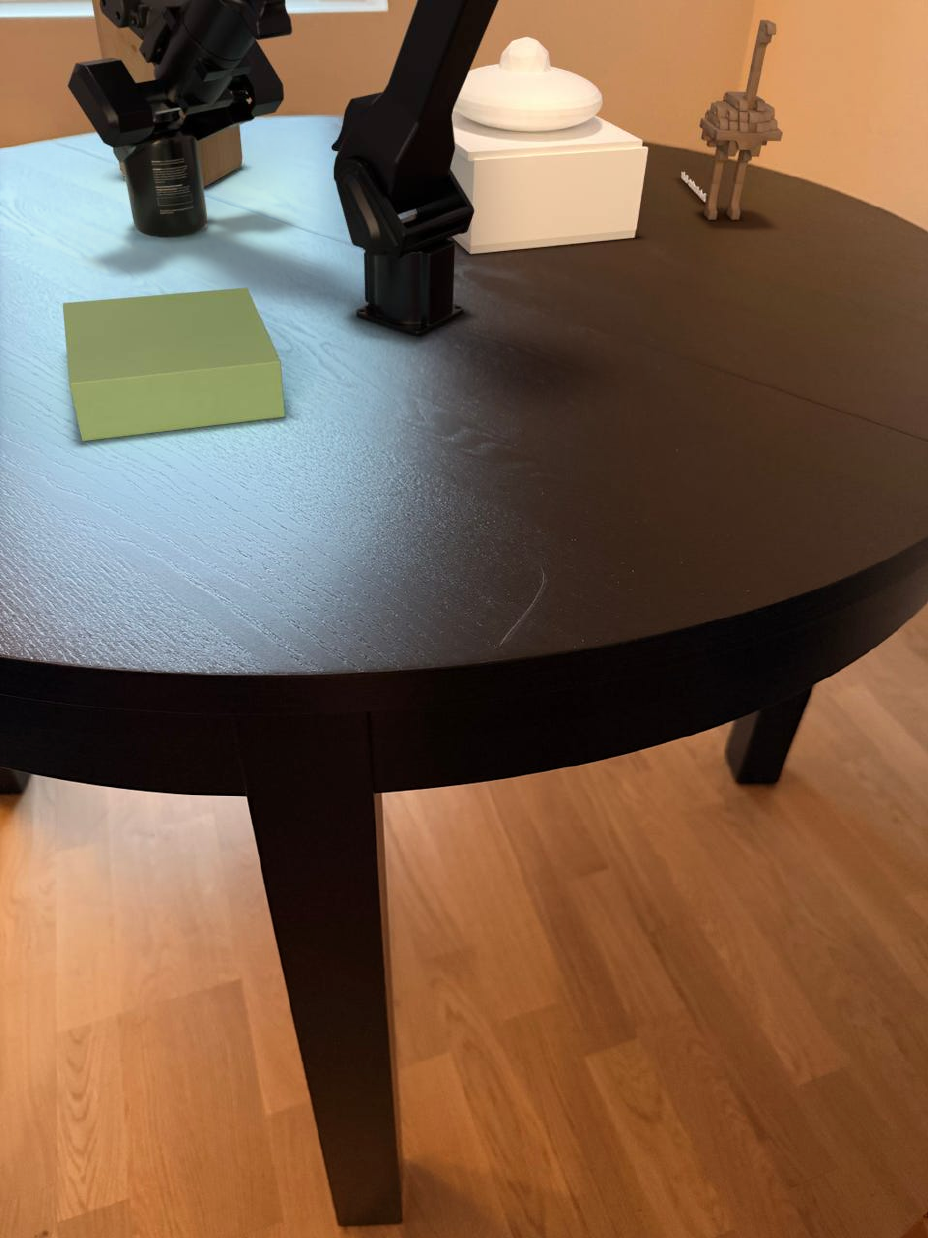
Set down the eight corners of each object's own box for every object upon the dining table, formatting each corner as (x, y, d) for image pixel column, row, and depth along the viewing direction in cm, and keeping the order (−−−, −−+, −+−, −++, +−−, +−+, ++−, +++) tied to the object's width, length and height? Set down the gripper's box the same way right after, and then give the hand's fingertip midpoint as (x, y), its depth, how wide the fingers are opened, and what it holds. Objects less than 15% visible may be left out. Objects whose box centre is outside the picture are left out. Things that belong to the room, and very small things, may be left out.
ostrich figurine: (763, 228, 102) (809, 25, 90) (700, 228, 101) (738, 23, 89) (710, 178, 114) (745, -5, 103) (654, 178, 114) (682, -7, 102)
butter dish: (635, 237, 98) (662, 53, 88) (465, 254, 92) (472, 60, 82) (557, 184, 110) (573, 18, 100) (403, 197, 105) (403, 22, 95)
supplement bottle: (217, 218, 97) (200, 80, 89) (195, 241, 92) (176, 97, 84) (148, 213, 97) (126, 76, 90) (123, 236, 92) (97, 92, 84)
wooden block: (117, 179, 105) (79, -47, 93) (166, 155, 113) (137, -57, 100) (203, 192, 103) (176, -38, 91) (247, 166, 111) (227, -49, 98)
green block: (252, 338, 76) (247, 286, 74) (285, 417, 67) (280, 361, 64) (74, 355, 73) (62, 302, 70) (82, 441, 63) (69, 383, 61)
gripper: (249, -72, 84) (183, 57, 96) (53, -60, 72) (6, 85, 84) (321, 48, 85) (247, 160, 97) (140, 79, 73) (82, 202, 86)
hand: (151, 149), depth 91 cm, fingers closed on supplement bottle, 7 cm apart
